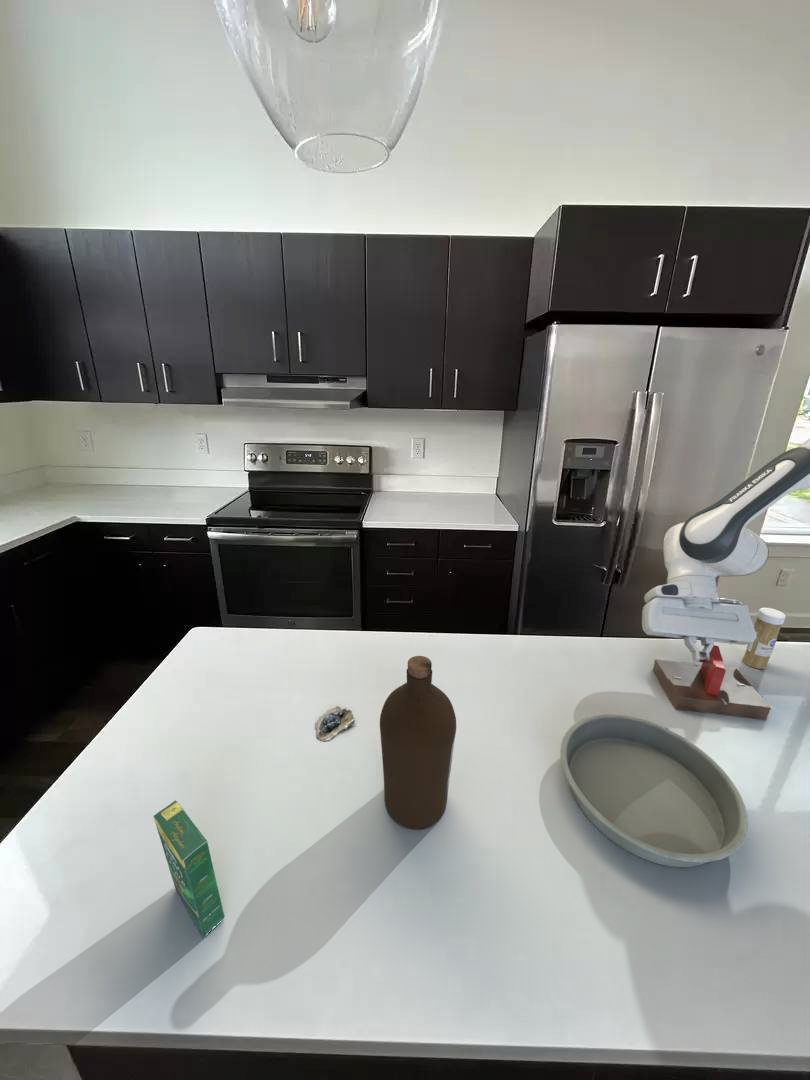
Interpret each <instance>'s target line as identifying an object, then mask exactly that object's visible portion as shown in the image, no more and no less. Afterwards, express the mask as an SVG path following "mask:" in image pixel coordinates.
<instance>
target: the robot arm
mask: <svg viewBox="0 0 810 1080" xmlns="http://www.w3.org/2000/svg"><path fill="white" fill-rule="evenodd" d="M805 489H810V437H809V438H808V439H807V440H805V441H804V442H802V443H801V444H799V445H798V446H796V447H793V448H791V449H788V450H786V451H784V452H782V453H780V454H779V455H778V456H776V457H774V458H772V459H771V460H770V461H769V462H767V463H766V464H765V465H763V466H762V467H760V469H758V470H757V471H755V472H754V473H753V474H752V475H750V476H749V477H748V478H746V479H745V480H744V481H743V482H742V483H740V484H739V485H738V486H736V487H735V488H733V489H732V490H731V491H729V492H728V493H727V494H726V495H725V496H723V497H722V498H721V499H719V500H718V501H716V502H715V503H713V504H711V505H709V506H707V507H705V508H703V509H701V510H699V511H698V512H695V513H694V514H693V515H690V516H689V518H687V519H686V521H683V522H680V523H678V524H675V525H673V526H671V527H670V528H669V529H667V531H666V532H665V535H664V536H663V537H664V538H663V544H662V545H663V547H662V548H663V562H664V563H663V564H664V567H665V569H666V571H667V577H666V583H665V584H660V585H657V586H655V587H653V588H651V589H650V590H648V592H646V593H645V594H644V596H643V599H644V602H645V604H644V605H643V607H642V611H641V628H642V631H643V632H644V633H645V634H646V635H647V636H656V637H665V638H674V639H683V643H684V644H683V645H684V646H685V647H686V648H687V649H688V651H689V652H690V653H691V658H692V662H693V661H695V662H696V663H698V662H699V663H703V662H704V663H707V662H710V655H709V653H710V651H711V650H712V648H713V646H714V645H715V643H721V644H731V645H740V646H747V645H748V644H750V643H752V642H754V641H755V639H756V632H755V629H754V626H755V625H754V623H753V619H752V618H751V613H750V608H749V606H748V605H747V604H746V603H744V602H742V601H741V600H740V599H736V598H725V597H719V593H718V588H717V580H716V579H717V577H743V576H749V575H752V574H754V573H756V572H758V571H759V570H761V569H762V568H763V567H764V566H765V565H766V563H767V561H768V558H769V553H770V552H769V551H770V550H769V547H768V543H767V542H766V541H765V540H764V539H763V538H762V537H760V536H759V535H758V534H756V533H755V532H753V531H752V530H751V529H749V528H747V526H748V525H749V524H750V523H751V522H752V521H753V520H754V519H756V518H757V517H759V516H760V515H761V514H763V513H764V512H766V510H768V509H770V508H771V507H772V506H774V505H775V504H777V502H779V501H780V500H781V499H783V498H784V497H786V496H788V495H790V494H791V493H794V492H796V491H800V490H805ZM698 641H700V645H701V646H702V647H703V648H702V650H701V651H700V650H699V647H697V645H696V643H697V642H698Z"/></svg>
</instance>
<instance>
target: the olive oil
mask: <svg viewBox="0 0 810 1080" xmlns="http://www.w3.org/2000/svg"><path fill="white" fill-rule="evenodd" d="M432 668H433V663H432V660H431V659H430V658H429V657H427V656H424V655H415V656H412V657H410V658H408V660H407V668H406V682H404V683H403V684H402V685H399V686H398V687H396V688H395V689H393V691H392V692H390V694H388V696H387V698H386V699H385V701H384V703H383V705H382V708H381V711H380V716H379V734H380V744H381V745H380V746H381V759H382V774H383V795H384V804H385V805H384V806H385V808H386V812H387V814H388V816H389V817H390V818H391V819H392V820H393V821H394V822H395V823H396V824H398V825H399V826H401V827H402V828H406V829H408V830H409V829H410V830H424V829H428V828H430V827H432V826H434V825H435V824H437V823H438V822H439V821H440V820H441V819H442V817H443V815H444V814H445V811H446V808H447V805H448V794H449V787H450V779H451V778H450V777H451V770H452V764H453V763H452V762H453V756H454V755H453V754H454V749H455V748H454V747H455V742H456V741H455V740H456V734H457V716H456V712H455V709H454V706H453V704H452V701H451V700H450V698H449V697H448V695H447V694H446V693H445V692H444V691H442V689H440V688H439V687H438V686H436V685H434V684H433V683H432V681H433V669H432Z"/></svg>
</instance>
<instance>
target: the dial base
mask: <svg viewBox="0 0 810 1080" xmlns="http://www.w3.org/2000/svg"><path fill="white" fill-rule="evenodd" d="M701 666H702V663H698V662H696V661H693V660H692V662H685V661H684V662H683V661H674V660H666V659H654V664H653V666H652V670H651V671H652V672H653V674H654V676H655V677H656V679H657V681H658V683H659V684H660V686H661V688H662V689H663V691H664V693H665V695H666V696H667V698H668V700H669V701H670V703H671V705H672V707H673V708H674V710H679V711H687V712H694V713H695V712H697V713H704V714H712V715H722V716H728V717H737V718H746V719H754V720H762V721H767V719H768V717H769V714H770V712H771V709H772V707H771V706H770V704H769V703H768V702H767V701H766V700H765V698H763V696H761V694H760V693H759V692H758V691H757V690H756V688H754V686H753V685H752V684H751V683H750V682H749V681H748V680H747V679H746V678H745V676H744V675H743V674H742V672H740V670H738V668H736V667H732V666H725V669H726V672H725V675H724V678H723V681H722V684H721V687H720V690H719V693H718V696H715V695H711V694H707V693H706V688H705V684H704V679H703V675H702V670H701Z"/></svg>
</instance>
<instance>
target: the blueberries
mask: <svg viewBox="0 0 810 1080" xmlns="http://www.w3.org/2000/svg"><path fill="white" fill-rule="evenodd" d="M355 721H356V720H355V717H354V714H353V710H350V709H347V708H346V707H345V708H341V706H340V705H338V706H337V705H336V706H334V707H332V708H330V709H328V710H326V712H324V713H323V714H322V715H321V716H319V717H318V719H317V721H316V722H314V723H315V725H314V726H315V727H314V728H315V729H316V730H315V732H316V738H317V739H318V740H319V741H323V742H327V741H331V740H332V738H334V737H336V736H337V735H338V733H339V732H340V733H342V731H343V730H344V729H345V730H346V729H348V727H350V726H353V725H354V724H355Z"/></svg>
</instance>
